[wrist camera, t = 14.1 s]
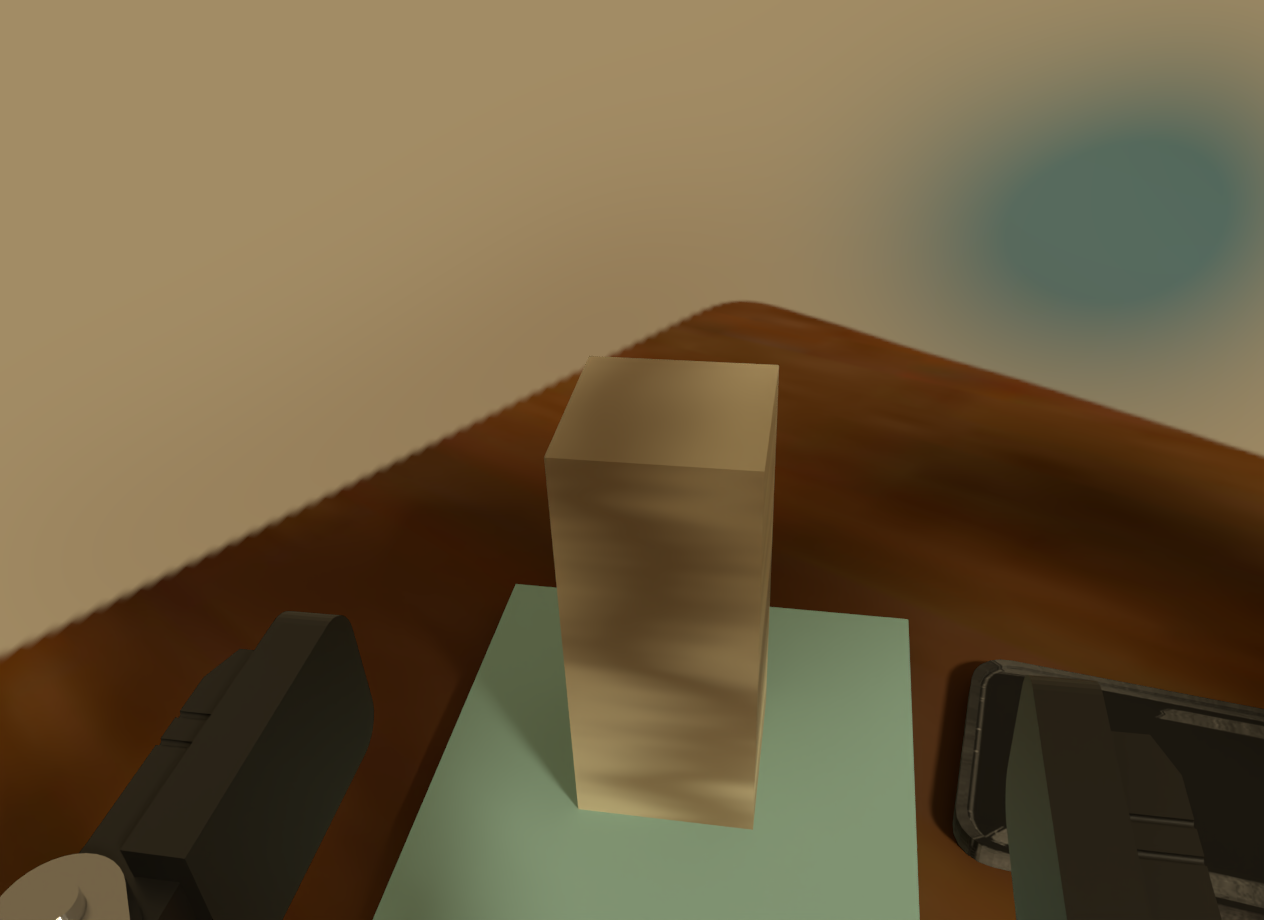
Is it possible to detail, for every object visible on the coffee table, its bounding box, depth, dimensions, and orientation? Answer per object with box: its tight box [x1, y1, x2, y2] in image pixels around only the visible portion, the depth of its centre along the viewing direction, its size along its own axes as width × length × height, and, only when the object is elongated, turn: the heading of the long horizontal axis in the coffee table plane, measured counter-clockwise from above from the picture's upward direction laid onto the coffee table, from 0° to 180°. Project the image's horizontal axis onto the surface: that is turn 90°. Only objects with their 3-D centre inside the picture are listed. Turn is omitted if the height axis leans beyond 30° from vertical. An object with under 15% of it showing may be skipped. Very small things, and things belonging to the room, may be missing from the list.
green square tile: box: [373, 584, 920, 920], centre depth 33 cm, size 14×14×1 cm
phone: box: [953, 660, 1264, 920], centre depth 32 cm, size 8×1×15 cm
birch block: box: [544, 356, 779, 830], centre depth 30 cm, size 5×5×12 cm
